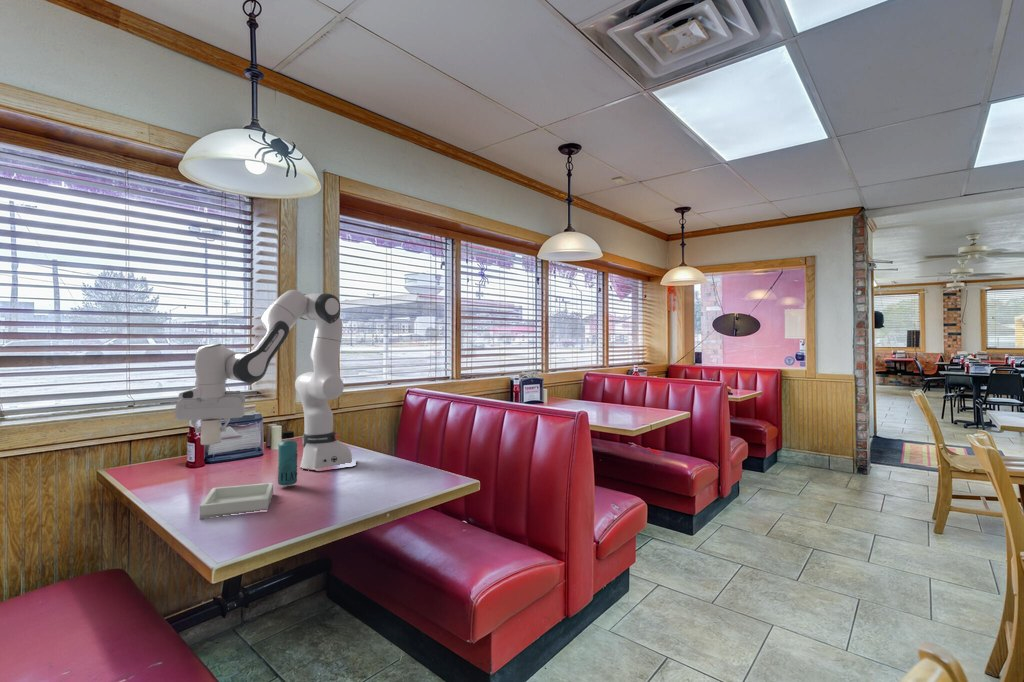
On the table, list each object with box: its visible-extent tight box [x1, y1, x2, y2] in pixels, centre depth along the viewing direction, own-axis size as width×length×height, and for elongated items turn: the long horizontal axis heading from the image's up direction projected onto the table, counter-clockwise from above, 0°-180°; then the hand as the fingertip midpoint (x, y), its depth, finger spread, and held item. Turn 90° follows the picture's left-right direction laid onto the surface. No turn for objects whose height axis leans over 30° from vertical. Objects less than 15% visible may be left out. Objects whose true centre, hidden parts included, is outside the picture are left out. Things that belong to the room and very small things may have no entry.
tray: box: [199, 482, 274, 520], centre depth 156 cm, size 18×18×4 cm
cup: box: [200, 419, 222, 446], centre depth 166 cm, size 6×6×8 cm
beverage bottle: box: [277, 430, 299, 487], centre depth 175 cm, size 6×7×20 cm
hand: (211, 432), depth 166 cm, fingers closed on cup, 6 cm apart
